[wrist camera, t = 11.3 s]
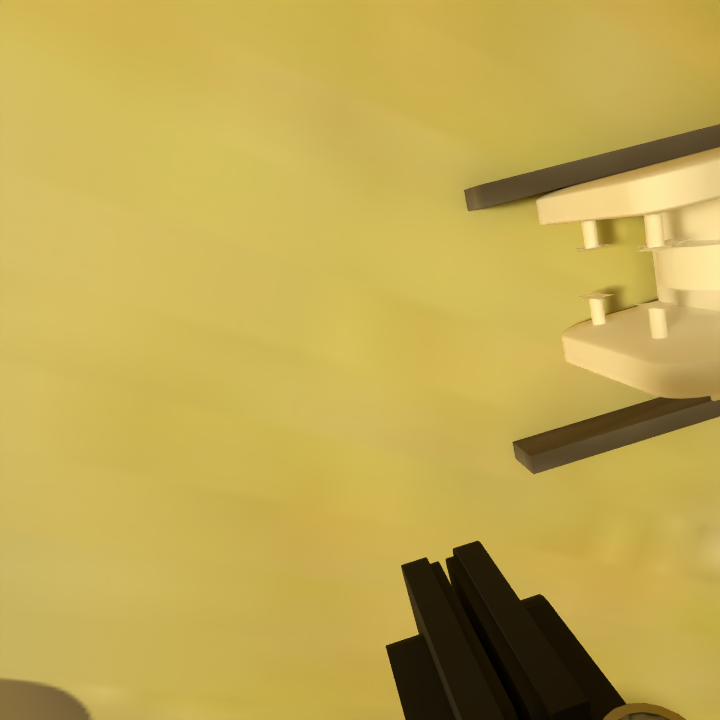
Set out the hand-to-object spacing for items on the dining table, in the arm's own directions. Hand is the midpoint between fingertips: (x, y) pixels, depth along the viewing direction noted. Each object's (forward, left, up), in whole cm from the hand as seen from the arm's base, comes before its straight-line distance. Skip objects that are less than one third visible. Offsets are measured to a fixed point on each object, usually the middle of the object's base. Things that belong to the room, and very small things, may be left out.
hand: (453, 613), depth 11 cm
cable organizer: (-2, +21, -22) cm, 30 cm away
